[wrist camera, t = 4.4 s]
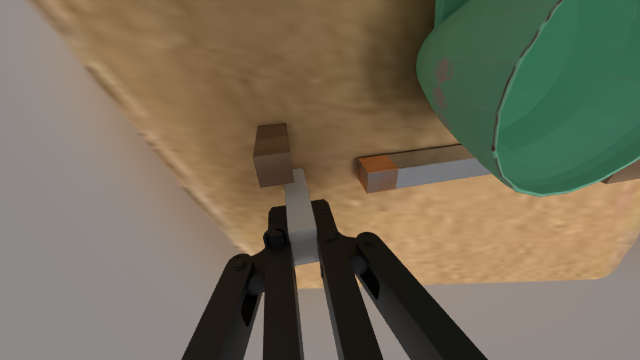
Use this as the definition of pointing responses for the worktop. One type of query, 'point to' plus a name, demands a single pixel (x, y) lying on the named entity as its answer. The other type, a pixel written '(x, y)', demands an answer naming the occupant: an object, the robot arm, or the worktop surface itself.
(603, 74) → the mug
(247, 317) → the robot arm
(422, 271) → the worktop surface
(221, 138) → the worktop surface
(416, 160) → the tie bar
